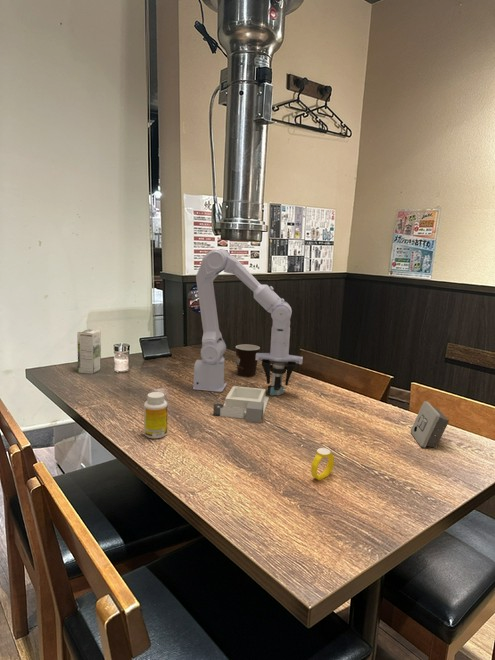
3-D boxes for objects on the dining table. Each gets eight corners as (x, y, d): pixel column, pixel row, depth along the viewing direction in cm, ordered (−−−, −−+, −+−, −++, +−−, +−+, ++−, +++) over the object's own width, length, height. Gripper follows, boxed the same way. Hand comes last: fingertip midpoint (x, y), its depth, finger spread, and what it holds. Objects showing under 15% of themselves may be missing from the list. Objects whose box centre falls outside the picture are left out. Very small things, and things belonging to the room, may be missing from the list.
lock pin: (212, 415, 118) (212, 406, 118) (214, 412, 121) (214, 403, 120) (242, 419, 117) (243, 410, 116) (244, 415, 120) (244, 406, 119)
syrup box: (86, 368, 155) (84, 328, 152) (101, 369, 154) (100, 329, 151) (77, 373, 149) (76, 331, 146) (93, 374, 148) (92, 333, 145)
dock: (216, 418, 117) (216, 404, 116) (230, 394, 135) (230, 383, 134) (260, 423, 115) (261, 409, 114) (268, 398, 133) (269, 386, 132)
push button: (280, 389, 141) (283, 360, 139) (290, 395, 137) (294, 365, 135) (263, 391, 138) (266, 362, 135) (273, 398, 134) (277, 367, 131)
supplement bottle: (170, 437, 104) (170, 397, 102) (147, 441, 102) (146, 399, 100) (163, 428, 109) (164, 389, 107) (141, 431, 107) (141, 392, 105)
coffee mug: (258, 378, 152) (259, 350, 150) (234, 377, 152) (235, 349, 150) (258, 368, 164) (259, 343, 162) (235, 367, 164) (236, 342, 162)
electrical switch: (409, 432, 114) (417, 399, 112) (429, 435, 114) (437, 402, 112) (421, 449, 105) (430, 413, 103) (442, 452, 104) (451, 416, 102)
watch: (318, 485, 87) (319, 459, 86) (307, 480, 89) (308, 454, 88) (336, 474, 91) (337, 448, 90) (325, 468, 93) (326, 443, 92)
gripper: (255, 342, 131) (252, 385, 134) (303, 346, 129) (299, 390, 132) (258, 337, 138) (256, 378, 141) (304, 341, 136) (301, 382, 139)
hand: (277, 383), depth 137 cm, fingers closed on push button, 5 cm apart
